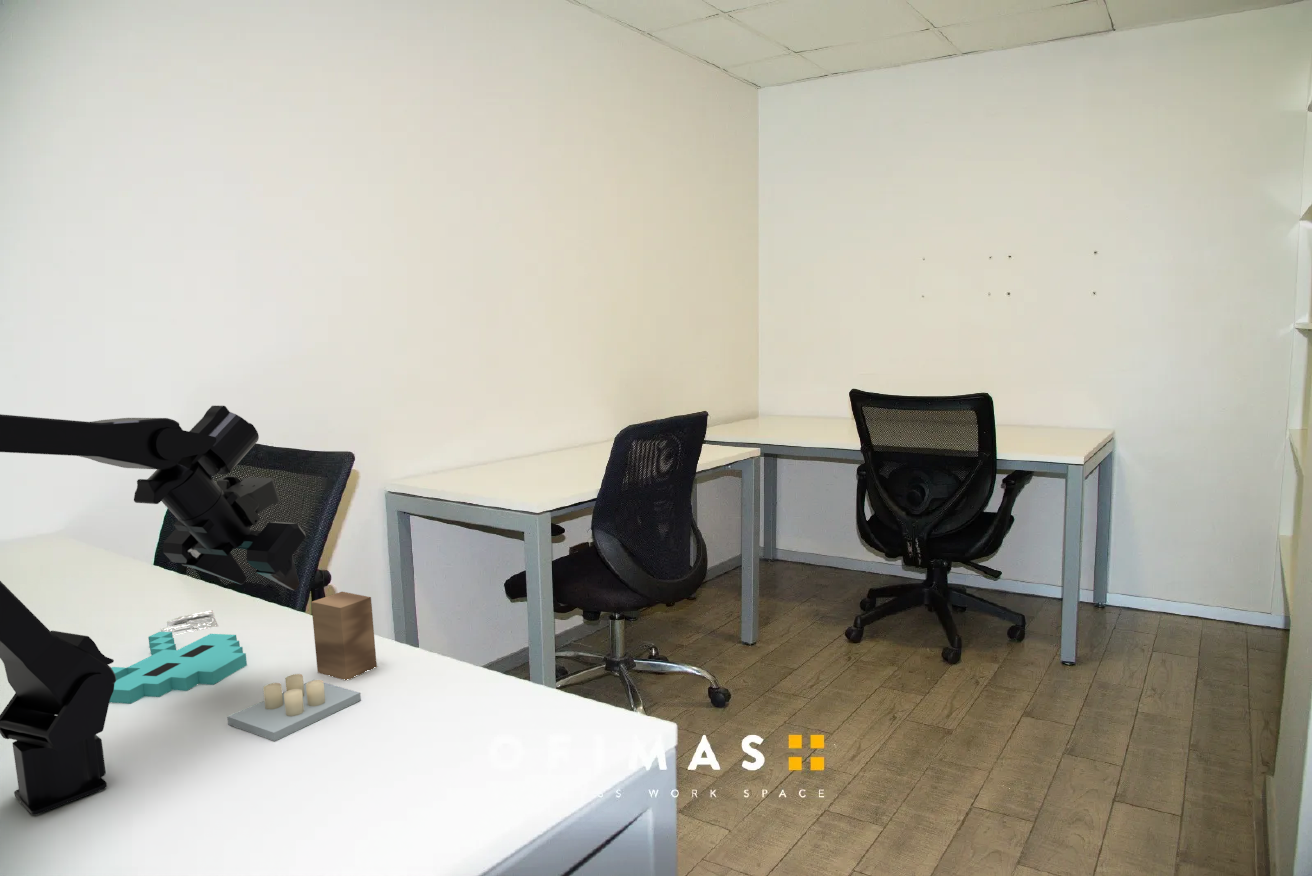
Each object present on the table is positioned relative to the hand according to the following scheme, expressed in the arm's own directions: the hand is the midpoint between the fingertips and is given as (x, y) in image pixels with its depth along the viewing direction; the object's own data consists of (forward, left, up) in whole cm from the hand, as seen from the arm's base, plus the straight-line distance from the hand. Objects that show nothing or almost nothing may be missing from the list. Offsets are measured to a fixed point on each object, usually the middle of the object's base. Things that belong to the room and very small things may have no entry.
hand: (269, 584), depth 111 cm
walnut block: (+8, -3, -14) cm, 16 cm away
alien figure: (-7, +18, -14) cm, 24 cm away
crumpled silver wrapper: (+3, +36, -14) cm, 39 cm away
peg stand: (-3, -10, -14) cm, 17 cm away
